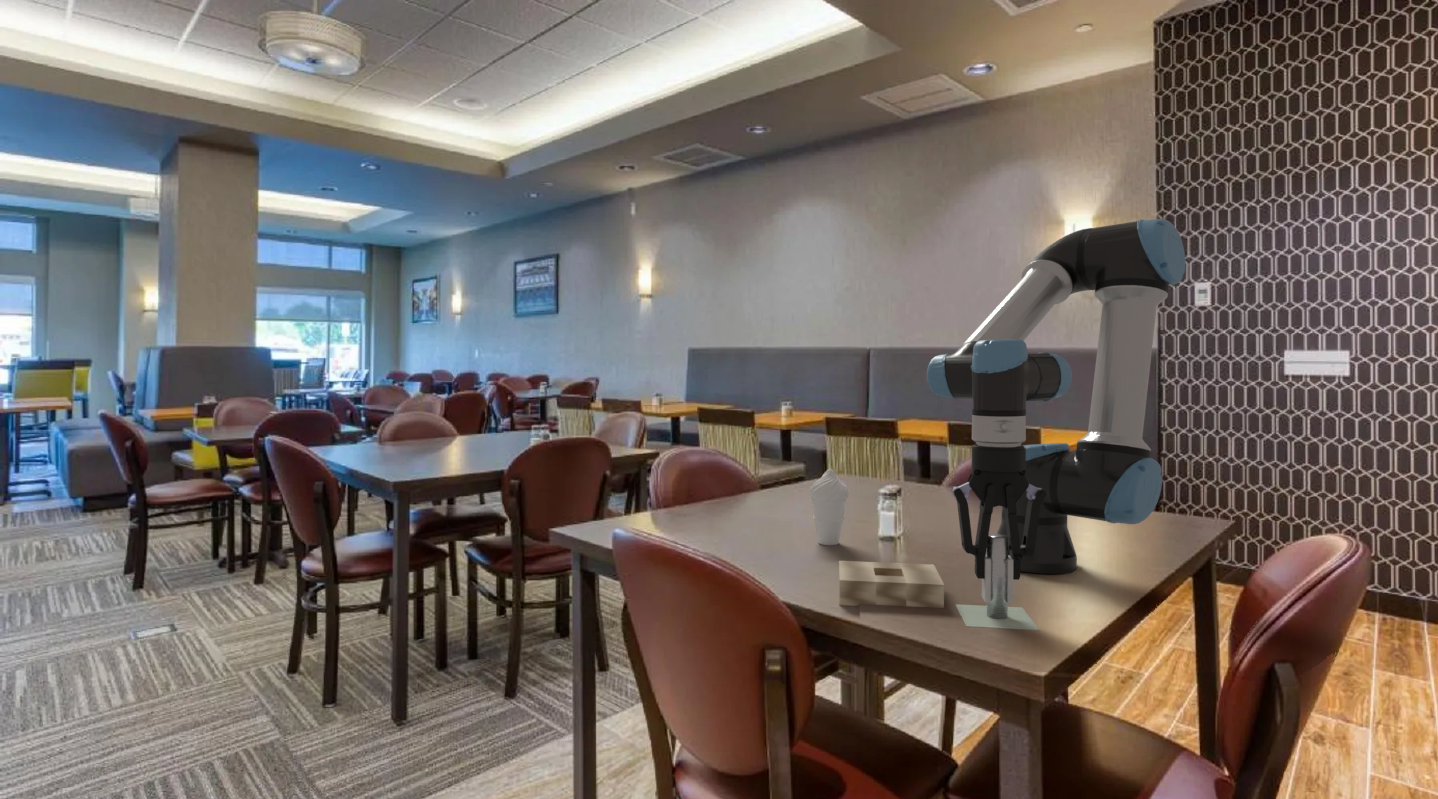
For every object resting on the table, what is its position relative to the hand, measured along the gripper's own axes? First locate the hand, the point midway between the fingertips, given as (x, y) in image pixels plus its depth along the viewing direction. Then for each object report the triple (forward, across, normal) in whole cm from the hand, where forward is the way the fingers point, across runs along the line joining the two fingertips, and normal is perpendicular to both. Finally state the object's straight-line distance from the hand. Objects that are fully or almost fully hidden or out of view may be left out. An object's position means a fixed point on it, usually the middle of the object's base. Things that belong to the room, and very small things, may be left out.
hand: (997, 599), depth 111 cm
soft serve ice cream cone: (+3, -25, +45) cm, 51 cm away
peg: (+2, 0, 0) cm, 2 cm away
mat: (+3, 0, 0) cm, 3 cm away
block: (+3, -15, +9) cm, 18 cm away
